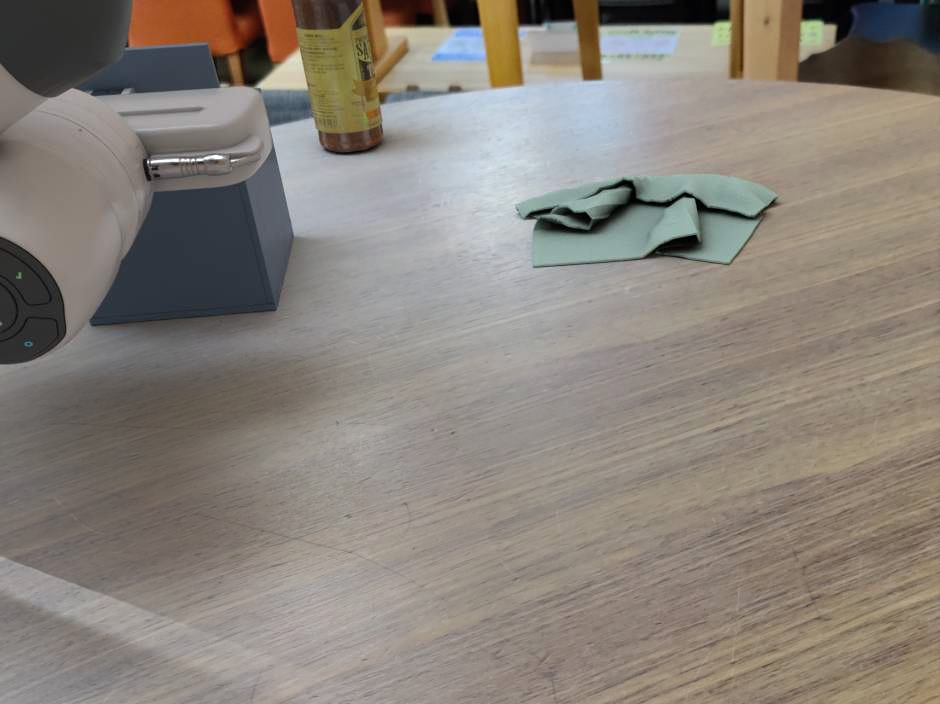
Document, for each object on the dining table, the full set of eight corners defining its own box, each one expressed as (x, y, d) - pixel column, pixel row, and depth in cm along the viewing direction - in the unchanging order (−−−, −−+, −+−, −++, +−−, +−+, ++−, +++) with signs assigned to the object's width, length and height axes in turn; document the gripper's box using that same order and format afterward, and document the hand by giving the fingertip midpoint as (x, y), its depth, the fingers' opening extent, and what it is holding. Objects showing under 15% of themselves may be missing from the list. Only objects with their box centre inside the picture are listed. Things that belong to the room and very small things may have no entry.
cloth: (806, 194, 100) (808, 164, 99) (691, 298, 86) (691, 265, 84) (593, 162, 108) (591, 134, 106) (454, 252, 93) (450, 221, 92)
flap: (237, 149, 79) (236, 152, 79) (35, 163, 78) (34, 167, 78) (208, 41, 74) (207, 44, 74) (-9, 56, 73) (-10, 59, 73)
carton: (276, 310, 86) (237, 148, 79) (90, 325, 85) (33, 163, 78) (294, 235, 97) (261, 87, 90) (129, 248, 96) (82, 99, 89)
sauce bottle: (389, 150, 112) (349, -97, 99) (321, 158, 111) (272, -90, 98) (382, 129, 117) (343, -109, 104) (317, 137, 116) (269, -103, 103)
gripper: (243, 104, 64) (271, 37, 74) (-159, 131, 62) (-73, 58, 73) (270, 222, 68) (293, 142, 78) (-107, 250, 66) (-32, 165, 77)
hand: (114, 102), depth 75 cm, fingers closed, pressing on flap
